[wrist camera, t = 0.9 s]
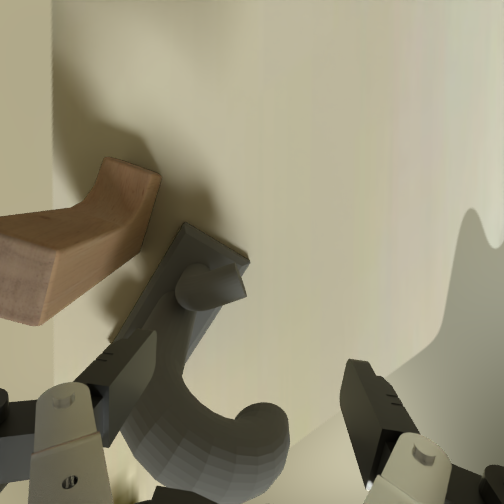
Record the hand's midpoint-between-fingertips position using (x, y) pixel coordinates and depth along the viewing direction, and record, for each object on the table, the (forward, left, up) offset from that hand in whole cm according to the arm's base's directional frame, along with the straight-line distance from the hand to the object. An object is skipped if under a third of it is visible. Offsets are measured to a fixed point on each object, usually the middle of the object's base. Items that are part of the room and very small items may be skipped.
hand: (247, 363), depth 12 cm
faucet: (+4, -8, -22) cm, 24 cm away
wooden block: (-11, -5, -22) cm, 25 cm away
